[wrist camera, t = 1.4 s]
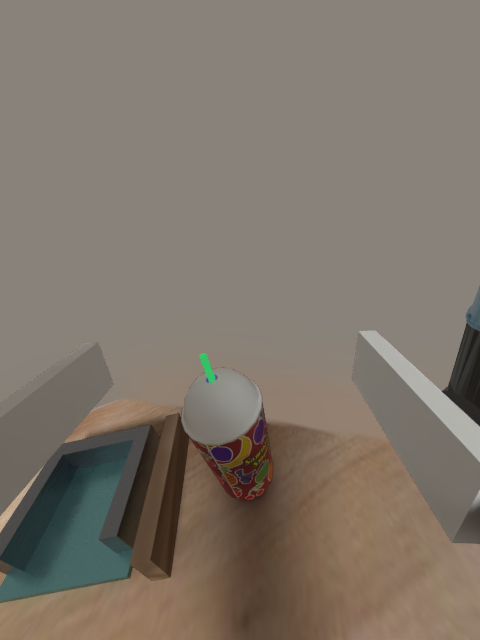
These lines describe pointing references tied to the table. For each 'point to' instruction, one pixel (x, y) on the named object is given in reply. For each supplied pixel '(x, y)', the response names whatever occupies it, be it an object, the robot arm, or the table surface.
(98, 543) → the keyed cradle
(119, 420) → the table surface
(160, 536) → the walnut rail
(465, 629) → the table surface
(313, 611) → the table surface
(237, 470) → the smoothie
